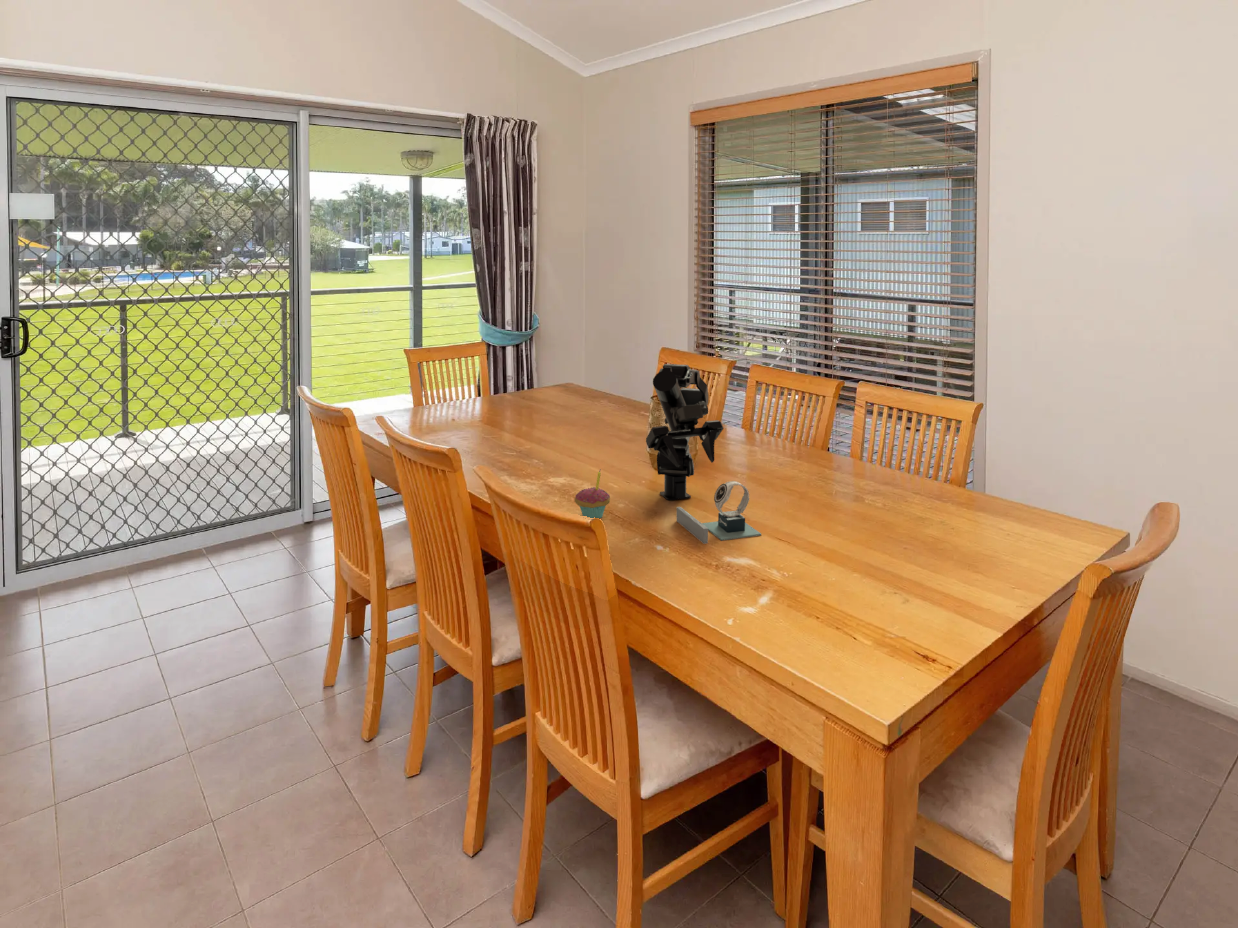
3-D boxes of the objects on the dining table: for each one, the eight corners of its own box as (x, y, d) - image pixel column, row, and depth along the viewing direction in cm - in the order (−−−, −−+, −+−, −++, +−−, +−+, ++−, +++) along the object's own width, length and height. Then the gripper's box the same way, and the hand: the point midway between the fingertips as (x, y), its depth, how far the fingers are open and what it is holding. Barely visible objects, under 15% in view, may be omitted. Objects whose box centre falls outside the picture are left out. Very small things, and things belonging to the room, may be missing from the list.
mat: (701, 524, 196) (701, 523, 196) (739, 520, 199) (739, 518, 199) (721, 540, 186) (721, 538, 185) (761, 535, 189) (761, 533, 188)
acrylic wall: (676, 520, 198) (676, 507, 197) (680, 520, 199) (680, 506, 198) (703, 543, 184) (704, 528, 183) (707, 543, 184) (708, 528, 183)
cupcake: (609, 510, 206) (609, 464, 203) (610, 522, 198) (610, 473, 195) (575, 511, 206) (574, 464, 203) (574, 522, 198) (573, 474, 195)
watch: (710, 525, 194) (711, 480, 191) (741, 522, 196) (743, 477, 193) (719, 533, 189) (720, 487, 186) (752, 530, 191) (753, 484, 188)
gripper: (651, 393, 193) (672, 450, 187) (720, 387, 201) (743, 441, 194) (637, 420, 203) (656, 475, 196) (704, 413, 210) (725, 466, 203)
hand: (696, 463), depth 197 cm, fingers open, 9 cm apart
